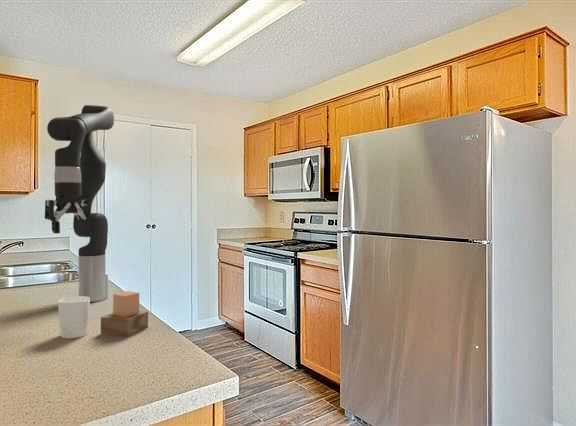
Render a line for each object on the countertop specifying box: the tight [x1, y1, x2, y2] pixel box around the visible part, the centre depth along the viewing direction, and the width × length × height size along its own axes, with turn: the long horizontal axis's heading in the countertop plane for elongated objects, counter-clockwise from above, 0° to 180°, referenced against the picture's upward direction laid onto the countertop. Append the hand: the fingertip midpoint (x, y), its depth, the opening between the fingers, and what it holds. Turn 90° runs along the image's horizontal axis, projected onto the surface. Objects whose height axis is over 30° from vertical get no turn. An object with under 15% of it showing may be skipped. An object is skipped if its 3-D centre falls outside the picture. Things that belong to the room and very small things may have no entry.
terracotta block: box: [112, 290, 140, 317], centre depth 114 cm, size 5×5×6 cm
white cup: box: [57, 295, 91, 340], centre depth 110 cm, size 8×8×10 cm
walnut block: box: [100, 310, 149, 338], centre depth 114 cm, size 9×9×5 cm
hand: (69, 232), depth 126 cm, fingers open, 8 cm apart
